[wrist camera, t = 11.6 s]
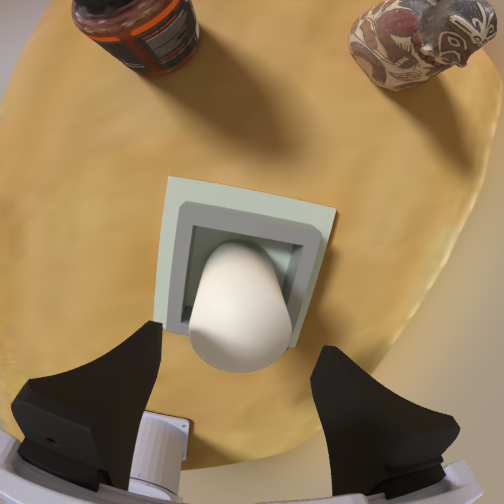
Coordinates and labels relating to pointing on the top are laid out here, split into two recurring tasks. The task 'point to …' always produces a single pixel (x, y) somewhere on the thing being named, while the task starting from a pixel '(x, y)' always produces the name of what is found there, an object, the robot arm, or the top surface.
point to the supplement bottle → (141, 31)
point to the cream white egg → (239, 310)
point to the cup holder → (236, 227)
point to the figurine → (419, 38)
